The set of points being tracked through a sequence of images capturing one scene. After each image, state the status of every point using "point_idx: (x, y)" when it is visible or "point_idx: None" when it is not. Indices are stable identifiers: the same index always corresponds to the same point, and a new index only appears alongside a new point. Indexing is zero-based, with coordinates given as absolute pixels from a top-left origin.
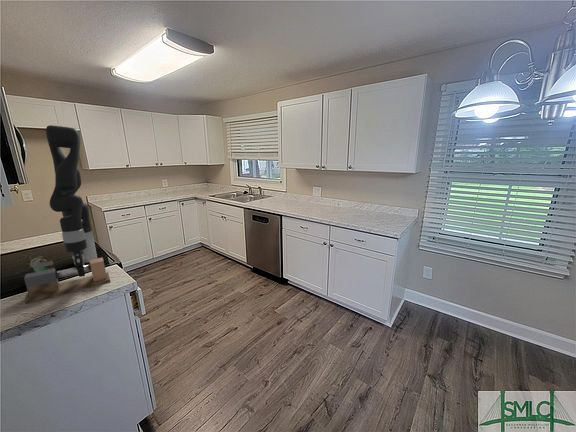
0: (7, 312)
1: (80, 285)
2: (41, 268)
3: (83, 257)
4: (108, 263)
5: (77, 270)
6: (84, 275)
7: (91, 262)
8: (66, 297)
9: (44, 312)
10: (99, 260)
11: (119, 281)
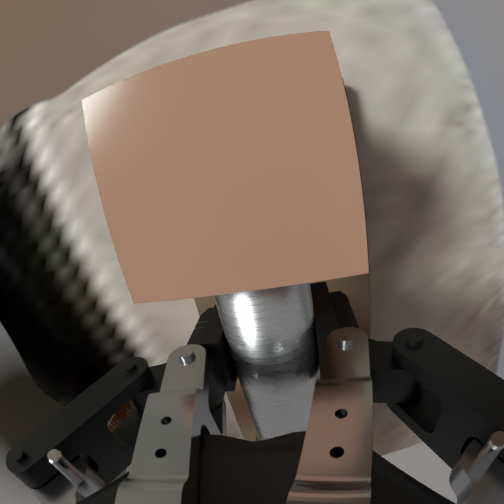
0: (387, 451)
1: (339, 284)
2: (123, 474)
3: (190, 438)
4: (2, 174)
5: (318, 373)
6: (326, 285)
7: (295, 259)
8: (421, 323)
9: (487, 359)
10: (244, 111)
11: (362, 27)
